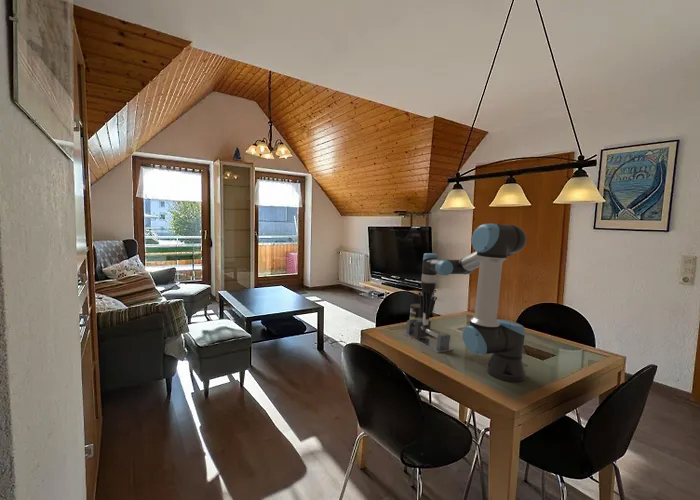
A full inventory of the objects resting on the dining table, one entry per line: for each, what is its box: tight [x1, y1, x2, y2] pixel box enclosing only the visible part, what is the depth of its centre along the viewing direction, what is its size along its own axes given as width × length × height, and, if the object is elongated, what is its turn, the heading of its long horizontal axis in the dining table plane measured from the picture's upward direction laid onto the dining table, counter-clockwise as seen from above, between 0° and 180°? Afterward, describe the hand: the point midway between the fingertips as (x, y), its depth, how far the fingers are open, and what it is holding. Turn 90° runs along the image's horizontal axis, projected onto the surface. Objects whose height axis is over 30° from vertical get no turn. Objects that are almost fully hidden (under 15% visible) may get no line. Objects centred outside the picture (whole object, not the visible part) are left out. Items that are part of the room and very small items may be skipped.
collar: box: [414, 320, 432, 337], centre depth 186 cm, size 3×8×8 cm, turn 116°
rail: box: [402, 319, 454, 354], centre depth 182 cm, size 30×10×8 cm, turn 26°
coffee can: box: [409, 303, 424, 331], centre depth 205 cm, size 10×10×14 cm
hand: (425, 324), depth 183 cm, fingers closed
